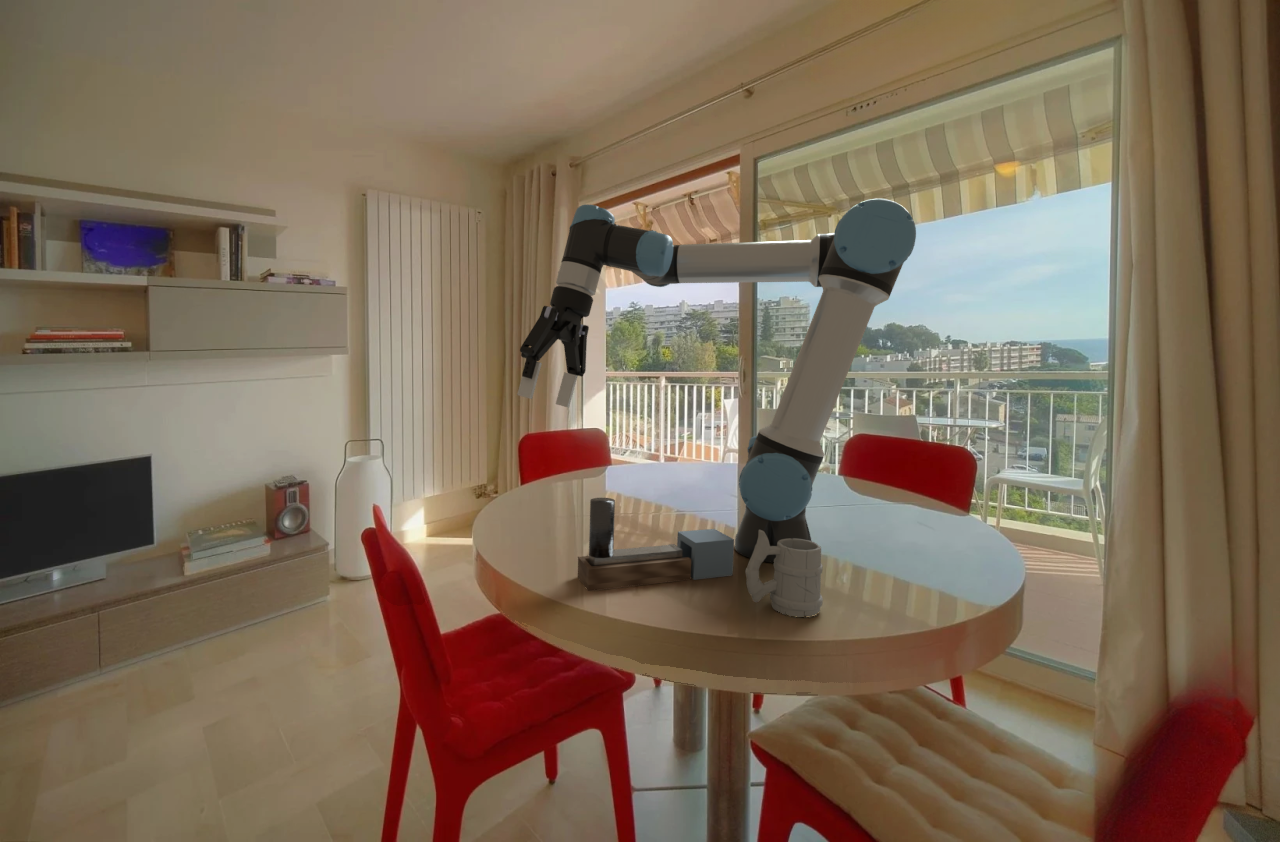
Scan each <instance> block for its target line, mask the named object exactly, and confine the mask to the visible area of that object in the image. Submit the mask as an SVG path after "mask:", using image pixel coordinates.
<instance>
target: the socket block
mask: <svg viewBox="0 0 1280 842" xmlns="http://www.w3.org/2000/svg"><path fill="white" fill-rule="evenodd" d="M676 546H677V547H679V548H680V549H682V550H683V552H682V558H684V557H689V558H690V559H691V579H692V580H695V581H697V580H703V579H704V580H705V579H712V578H713V579H714V578H720V577H731V576H733V570H734V568H733V567H734V552H735V551H734V550H735V538H732V537H731V536H728V535H727V534H725V533H724V532H721V531H720V530H718V529H716V528H708V529H696V530H695V529H694V530H693V529H692V530H682V531H677V543H676Z"/></svg>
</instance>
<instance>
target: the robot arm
mask: <svg viewBox="0 0 1280 842" xmlns="http://www.w3.org/2000/svg"><path fill="white" fill-rule="evenodd" d="M615 221H616V219H615V215H614V214H613V213H612V212H610V211H609V210H608V209H606V208H604V207H600V206H597V205H594V204H582V205H580V206H578V207H577V208H576V210H575V213H574V215H573V219H572V222H571V225H570V226H569V232H568V235H567V236H568V237H567V240H566V243H565V248H564V252H563V256H562V259H561V262H560V266H559V270H558V272H557V273H558V274H557V277H556V280H555V283H556V285H557V286H555V287H553V291H552V294H551V297H550V302H549V305H550V306H547V305H543V307H542V309H541V311H540V315H539V317H538V318H537V320H536V322H535V324H534V325H533V326H532V329H531V330H530V332H529V333H528V335H527V336H526V338H525V340H524V341H523V343H522V344H521V346H520V349H519V351H520V354H521V355H520V356H521V357H522V359H523V358H524V359H525V363H524V367H523V369H522V370H523V371H522V373H521V379H520V382H519V387H518V390H517V394H516V395H517V396H519V397H524V398H525V399H529V400H533V398H534V397H533V396H534V393H535V390H536V388H537V387H536V386H537V383H538V379H539V376H540V375H539V374H540V371H541V368H542V365H543V363H542V362H540V360H541V359H542V358H543V357H544V355H545V354H546V353H547V352H548V351H549V350H550V349H551V347H552V346H553V345H554V344H555V343H556V342H557V341H558V340H559V341H560V342H561V344H562V345H563V349H564V350H563V351H564V357H565V365H566V372H563V376H562V379H561V382H560V386H559V391H558V393H557V397H556V401H555V405H558V406H562V407H565V408H570V405H571V401H572V398H573V395H574V394H573V393H574V392H575V391H574V390H575V386H576V384H577V383H576V382H577V381H578V380H577V379H578V377H583V376H584V374H585V373H586V371H587V370H586V368H587V365H586V364H587V341H588V339H587V338H588V334H589V330H590V329H589V325H586V324H582V320H583V318H588V317H589V316H590V313H591V310H592V306H593V302H594V298H593V296H595V295H596V293H597V288H598V283H599V280H600V277H601V273H602V270H603V267H604V266H606V267H610V268H614V269H620V270H623V271H624V270H625V271H628V272H632V273H633V274H635V276H637V277H639V278H641V280H642V281H644V282H645V283H646V284H648V285H649V286H652V287H657V288H663V287H664V288H665V287H666V286H669V285H672V284H675V285H676V284H677V285H678V284H709V283H710V284H712V283H713V284H716V283H717V284H718V283H719V284H720V283H721V284H722V283H724V284H725V283H726V284H727V283H728V284H729V283H732V284H733V283H793V282H794V283H795V282H796V283H798V282H801V283H803V282H806V283H807V282H808V283H810V284H811V285H812V286H813V287H815V288H822V292H821V295H820V298H819V301H818V304H817V306H816V309H815V312H814V314H813V317H812V319H811V320H810V323H809V327H808V329H807V331H806V335H805V336H804V339H803V342H802V344H801V347H800V349H799V352H798V353H797V354H798V355H797V357H796V360H795V363H794V365H793V367H792V370H791V373H790V375H789V378H788V380H787V383H786V385H785V388H784V391H783V392H782V396H781V398H780V401H779V404H778V406H777V408H776V410H775V413H774V415H773V418H772V421H771V423H770V424H769V425H767V426H765V427H762V428H761V429H759V430H758V433H757V435H754V436H751V437H750V439H749V441H748V447H746V448H747V449H746V451H747V461H746V463H745V465H744V467H743V468H742V469H741V471H740V474H739V478H738V488H739V492H740V496H741V500H742V501H743V502H744V504H745V509H744V514H743V517H742V519H741V521H740V524H739V526H738V527H739V528H738V529H737V532H736V535H735V536H734V550H735V551H736V552H737V553H738V554H740V555H742V556H743V557H746V558H749V559H750V558H751V556H752V554H753V551H754V548H755V545H756V544H757V540H758V533H759V530H762V531H764V532H765V534H766V536H767V538H768V540H769V544H770V546H777V542H778V541H779V540H782V539H789V538H791V539H794V538H796V539H803V540H809V541H812V537H811V532H810V528H809V525H808V522H807V517H806V511H807V506H808V505H809V502H811V501H810V500H811V498H812V494H813V493H812V491H813V484H814V481H815V479H816V477H817V474H818V472H819V469H820V467H821V464H822V463H823V460H824V457H825V453H824V450H823V448H822V446H821V440H822V437H823V434H824V433H825V430H826V427H827V424H828V422H829V420H830V417H831V415H832V413H833V410H834V407H835V406H836V402H837V400H838V398H839V395H840V393H841V391H842V388H843V386H844V384H845V381H846V378H847V376H848V373H849V371H850V368H851V366H852V363H853V362H854V359H855V356H856V354H857V351H858V349H859V346H860V343H862V342H861V341H862V339H863V337H864V334H865V332H866V329H867V327H868V324H869V323H870V322H869V321H870V319H871V317H872V315H873V312H874V309H875V307H876V306H878V305H880V304H882V303H884V302H886V301H888V300H889V299H890V297H891V294H892V291H893V289H894V287H895V284H896V282H897V279H898V277H899V276H900V273H901V270H902V268H903V265H904V263H905V262H906V261H907V260H908V258H909V257H910V256H911V255H912V253H913V250H914V247H915V244H916V239H917V228H916V224H915V221H914V219H913V216H912V215H911V214H910V212H909V211H908V210H907V209H906V208H905V207H904V206H903V205H901V204H900V203H898V202H897V201H893V200H891V199H888V198H872V199H871V198H870V199H866V200H864V201H860V202H858V203H857V204H855V205H853V206H852V207H850V209H848V210H847V211H846V212H845V214H844V215H842V217H841V218H840V219H839V220H838V222H837V225H836V227H835V229H834V232H831V233H818V234H816V235H815V236H814V237H813V238H812V239H807V240H805V239H804V240H803V239H802V240H781V241H780V240H779V241H778V240H776V241H773V240H772V241H749V242H721V243H719V242H717V243H715V242H714V243H694V244H693V243H692V244H689V243H687V244H673V243H674V242H673V241H674V240H673V239H672V237H671V236H670V235H668V234H665V233H663V232H658V231H657V230H647V229H643V228H637V227H631V226H625V225H620V224H616V222H615ZM775 558H776V555H767V556H766V558H765V559H764V561H763V562H766V563H772V562H774V559H775Z"/></svg>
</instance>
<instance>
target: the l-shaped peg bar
mask: <svg viewBox="0 0 1280 842" xmlns="http://www.w3.org/2000/svg"><path fill="white" fill-rule="evenodd" d="M589 501H590V502H589V503H590V505H589V534H588V535H589V539H588V542H589V543H588V556H589V564H590V565H591V566H602V565H613V564H623V563H633V562H643V561H654V560H664V559H674V558H682V552H683V550H682V549H680V548H679V547H677V544H675V543H673V544H672V543H671V544H663V545H655V546H654V545H653V546H652V545H651V546H641V547H630V548H629V547H628V548H619V549H614V544H615V543H614V540H615V514H616V513H615V511H616V509H615V508H616V506H615V505H616V500H615V499H614V498H610V497H595V498H590V500H589Z"/></svg>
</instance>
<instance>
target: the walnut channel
mask: <svg viewBox="0 0 1280 842" xmlns="http://www.w3.org/2000/svg"><path fill="white" fill-rule="evenodd" d="M577 578H578V579H580V580H579V581H580V582H581V584H582V583H583V584H582V585H583V587H584V588H585V587H586V588H587V589H586V588H585V589H586V591H587V592H591V591H592V592H593V591H594V592H595V591H601V590H609V589H617V588H618V589H619V588H626V587H627V588H628V587H636V586H637V587H638V586H646V585H652V584H653V585H654V584H663V583H670V582H679V581H688V580H689V581H690V580H691V579H692V578H691V559H690V558H689V557H684V558H674V559H664V560H654V561H643V562H633V563H623V564H613V565H602V566H591V565H590V564H589V555H586V556H585V555H583V556H577Z"/></svg>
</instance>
